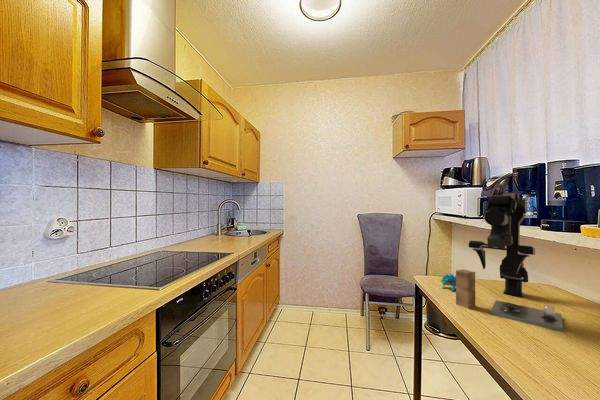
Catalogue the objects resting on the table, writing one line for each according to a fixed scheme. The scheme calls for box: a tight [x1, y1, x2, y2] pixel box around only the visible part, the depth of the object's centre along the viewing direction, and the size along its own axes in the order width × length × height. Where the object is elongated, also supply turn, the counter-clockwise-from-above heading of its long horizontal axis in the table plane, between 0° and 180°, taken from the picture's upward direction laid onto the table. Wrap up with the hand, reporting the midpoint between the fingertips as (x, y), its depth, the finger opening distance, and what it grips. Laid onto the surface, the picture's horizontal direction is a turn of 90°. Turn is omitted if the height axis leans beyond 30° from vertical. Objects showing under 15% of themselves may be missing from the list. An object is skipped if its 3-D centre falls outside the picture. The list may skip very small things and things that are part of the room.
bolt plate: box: [489, 299, 564, 333], centre depth 89 cm, size 14×18×5 cm
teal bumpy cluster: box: [440, 273, 456, 293], centre depth 116 cm, size 11×6×10 cm
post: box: [455, 268, 476, 309], centre depth 98 cm, size 4×4×13 cm
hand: (499, 271), depth 94 cm, fingers open, 9 cm apart
